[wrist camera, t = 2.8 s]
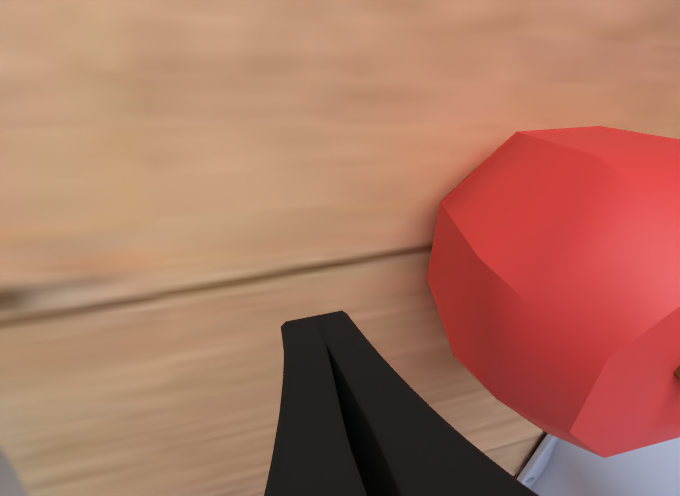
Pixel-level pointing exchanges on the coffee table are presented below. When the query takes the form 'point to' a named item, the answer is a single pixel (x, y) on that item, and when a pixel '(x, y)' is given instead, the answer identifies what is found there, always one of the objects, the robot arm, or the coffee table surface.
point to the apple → (569, 283)
